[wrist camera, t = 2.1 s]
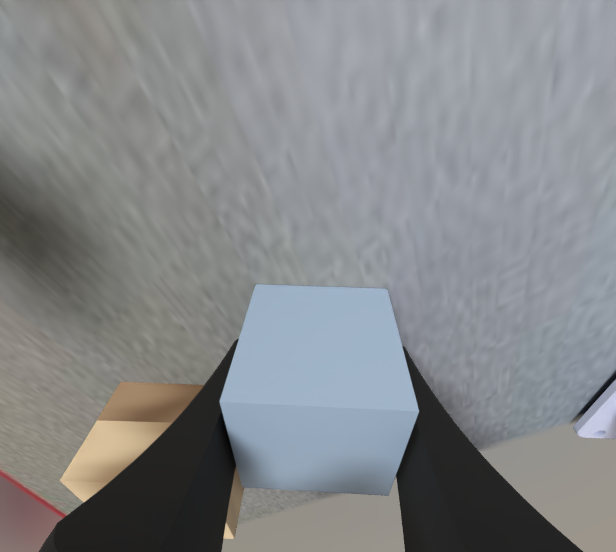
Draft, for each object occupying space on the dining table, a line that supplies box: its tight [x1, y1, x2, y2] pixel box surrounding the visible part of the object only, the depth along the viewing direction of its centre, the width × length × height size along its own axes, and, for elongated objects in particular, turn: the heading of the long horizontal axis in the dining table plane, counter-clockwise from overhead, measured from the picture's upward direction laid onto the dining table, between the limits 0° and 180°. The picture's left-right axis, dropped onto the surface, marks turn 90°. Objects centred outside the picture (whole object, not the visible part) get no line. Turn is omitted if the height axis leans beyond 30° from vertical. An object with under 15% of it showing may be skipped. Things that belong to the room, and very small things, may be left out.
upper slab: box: [60, 420, 244, 539], centre depth 15 cm, size 6×6×2 cm
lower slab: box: [97, 382, 204, 423], centre depth 17 cm, size 6×6×2 cm
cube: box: [220, 284, 419, 496], centre depth 11 cm, size 5×5×5 cm
